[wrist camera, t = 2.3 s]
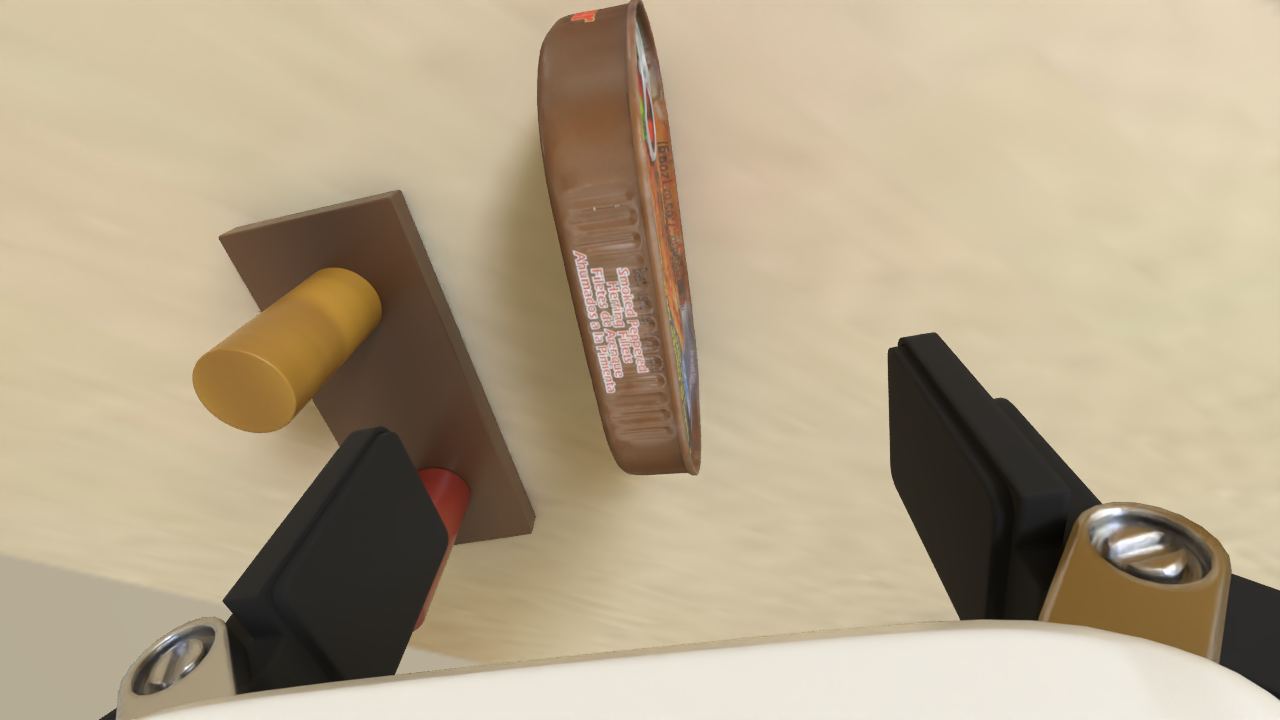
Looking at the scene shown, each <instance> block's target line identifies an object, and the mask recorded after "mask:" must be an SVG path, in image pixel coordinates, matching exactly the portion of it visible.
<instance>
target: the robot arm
mask: <svg viewBox="0 0 1280 720" xmlns="http://www.w3.org/2000/svg"><path fill="white" fill-rule="evenodd" d="M888 389H889V429H890V466H891V474H892V478H893V481H894V484H895V487H896V489H897V491H898V493H899V495H900V497H901V499H902V501H903V503H904V505H905V507H906V509H907V512H908V514H909V516H910V518H911V520H912V522H913V524H914V526H915V528H916V530H917V532H918V534H919V536H920V538H921V540H922V542H923V544H924V546H925V548H926V550H927V553H928V555H929V557H930V559H931V561H932V563H933V565H934V567H935V569H936V571H937V573H938V575H939V577H940V579H941V581H942V583H943V585H944V587H945V589H946V591H947V593H948V596H949V598H950V600H951V602H952V604H953V606H954V608H955V610H956V612H957V614H958V616H959V618H960V620H961V621H939V622H919V623H908V624H896V625H884V626H872V627H860V628H848V629H836V630H824V631H812V632H802V633H792V634H782V635H772V636H762V637H752V638H742V639H732V640H722V641H712V642H702V643H692V644H682V645H672V646H662V647H652V648H642V649H632V650H623V651H613V652H604V653H594V654H585V655H575V656H565V657H556V658H547V659H537V660H528V661H518V662H509V663H500V664H490V665H481V666H471V667H463V668H454V669H445V670H436V671H427V672H418V673H409V674H401V675H395V673H396V670H397V668H398V666H399V663H400V661H401V659H402V656H403V654H404V651H405V649H406V647H407V644H408V642H409V639H410V637H411V635H412V632H413V630H414V627H415V625H416V622H417V620H418V618H419V615H420V613H421V610H422V608H423V606H424V603H425V601H426V598H427V596H428V594H429V591H430V589H431V586H432V584H433V581H434V579H435V577H436V574H437V572H438V569H439V567H440V565H441V562H442V560H443V557H444V555H445V553H446V550H447V547H448V542H449V537H448V531H447V529H446V526H445V524H444V523H443V521H442V519H441V517H440V515H439V513H438V511H437V509H436V507H435V505H434V503H433V501H432V499H431V497H430V496H429V494H428V492H427V490H426V488H425V486H424V484H423V482H422V480H421V478H420V476H419V474H418V472H417V470H416V468H415V467H414V465H413V463H412V461H411V459H410V457H409V455H408V453H407V451H406V449H405V447H404V445H403V443H402V441H401V439H400V438H399V436H398V435H397V434H396V433H395V432H390V431H389V430H388V429H387V428H386V427H383V426H379V427H373V428H367V429H361V430H356V431H353V432H352V433H350V434H349V436H348V437H347V438H346V439H345V441H344V442H343V443H342V445H341V446H340V447H339V449H338V450H337V451H336V453H335V454H334V455H333V457H332V458H331V459H330V460H329V462H328V463H327V464H326V466H325V467H324V468H323V470H322V471H321V472H320V474H319V475H318V476H317V477H316V479H315V480H314V481H313V483H312V484H311V485H310V487H309V488H308V489H307V491H306V492H305V493H304V494H303V496H302V497H301V498H300V500H299V501H298V502H297V504H296V505H295V506H294V508H293V509H292V510H291V512H290V513H289V514H288V515H287V517H286V518H285V519H284V521H283V522H282V523H281V525H280V526H279V527H278V529H277V530H276V531H275V532H274V534H273V535H272V536H271V538H270V539H269V540H268V542H267V543H266V544H265V546H264V547H263V548H262V549H261V551H260V552H259V553H258V555H257V556H256V557H255V559H254V560H253V561H252V563H251V564H250V565H249V567H248V568H247V569H246V570H245V572H244V573H243V574H242V576H241V577H240V578H239V580H238V581H237V582H236V584H235V585H234V586H233V587H232V589H231V590H230V591H229V593H228V594H227V595H226V597H225V598H224V599H223V602H224V604H225V605H226V606H227V607H228V608H229V610H230V611H231V612H232V613H233V614H232V615H231V616H230V618H229V619H228V621H227V622H226V623H225V622H224V621H223V620H221V619H219V618H216V617H202V618H199V619H196V620H193V621H189V622H187V623H185V624H183V625H181V626H179V627H177V628H175V629H173V630H172V631H170V632H169V633H167V634H166V635H164V636H163V637H161V638H160V639H158V640H157V641H156V642H155V643H154V644H152V645H151V646H150V647H149V648H148V649H146V650H145V651H144V652H143V653H142V654H141V655H140V656H139V658H138V659H137V660H136V661H135V662H134V663H133V664H132V665H131V666H130V668H129V669H128V671H127V673H126V674H125V676H124V677H123V679H122V681H121V684H120V688H119V691H118V700H117V708H116V709H114V710H113V711H111V712H110V713H108V714H107V715H105V716H104V717H102V718H101V719H99V720H1280V591H1279V590H1277V589H1274V588H1271V587H1268V586H1265V585H1262V584H1260V583H1257V582H1254V581H1251V580H1248V579H1246V578H1243V577H1240V576H1237V575H1234V574H1231V572H1232V570H1231V564H1230V558H1229V555H1228V553H1227V552H1226V551H1225V549H1224V548H1223V546H1222V545H1221V543H1220V542H1219V541H1218V540H1217V539H1216V538H1215V537H1214V536H1212V535H1211V534H1210V533H1209V532H1208V531H1206V530H1205V529H1204V528H1203V527H1202V526H1200V525H1198V524H1196V523H1194V522H1192V521H1191V520H1189V519H1187V518H1185V517H1183V516H1181V515H1179V514H1176V513H1173V512H1171V511H1168V510H1165V509H1162V508H1159V507H1155V506H1150V505H1145V504H1140V503H1133V502H1111V503H1106V504H1102V503H1101V502H1100V501H1099V500H1098V499H1097V498H1096V496H1095V495H1094V494H1093V493H1092V492H1091V491H1090V490H1089V489H1088V487H1087V486H1086V485H1085V484H1084V483H1083V482H1082V481H1081V480H1080V479H1079V477H1078V476H1077V475H1076V474H1075V473H1074V472H1073V471H1072V470H1071V469H1070V467H1069V466H1068V465H1067V464H1066V463H1065V462H1064V461H1063V460H1062V459H1061V457H1060V456H1059V455H1058V454H1057V453H1056V452H1055V451H1054V450H1053V448H1052V447H1051V446H1050V445H1049V444H1048V443H1047V442H1046V441H1045V440H1044V438H1043V437H1042V436H1041V435H1040V434H1039V433H1038V432H1037V431H1036V430H1035V428H1034V427H1033V426H1032V425H1031V424H1030V423H1029V422H1028V421H1027V419H1026V418H1025V417H1024V416H1023V415H1022V414H1021V413H1020V412H1019V411H1018V409H1017V408H1016V407H1015V406H1014V405H1013V404H1012V403H1011V402H1009V401H1008V400H1007V399H1004V398H996V399H993V398H992V397H991V396H990V395H989V393H988V392H987V391H986V390H985V389H984V388H983V386H982V385H981V384H980V383H979V382H978V381H977V379H976V378H975V377H974V376H973V375H972V374H971V372H970V371H969V370H968V369H967V368H966V367H965V366H964V364H963V363H962V362H961V361H960V360H959V359H958V357H957V356H956V355H955V354H954V353H953V352H952V350H951V349H950V348H949V347H948V346H947V345H946V343H945V342H944V341H943V340H942V339H941V338H940V336H939V335H938V334H936V333H934V332H932V333H926V334H921V335H915V336H909V337H903V338H900V339H899V342H898V347H893V348H889V350H888Z"/></svg>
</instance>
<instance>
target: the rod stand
mask: <svg viewBox="0 0 1280 720" xmlns="http://www.w3.org/2000/svg"><path fill="white" fill-rule="evenodd" d="M219 240H220V242H221V243H222V245H223V247H224V248H225V250H226V252H227V254H228V255H229V257H230V259H231V260H232V262H233V264H234V266H235V267H236V269H237V271H238V272H239V274H240V276H241V278H242V279H243V281H244V283H245V284H246V286H247V288H248V290H249V291H250V293H251V295H252V296H253V298H254V300H255V302H256V303H257V305H258V307H259V308H260V310H261V313H260V314H259V315H257V316H256V317H254V318H253V319H252V320H250V321H249V322H248V323H246V324H245V325H244V326H242V327H241V328H240V329H238V330H237V331H236V332H234V333H233V334H232V335H230V336H229V337H227V338H226V339H225V340H223V341H222V342H221V343H219V344H218V345H217V346H215V347H214V348H213V349H211V350H210V351H209V352H207V353H206V354H204V355H203V356H202V357H201V358H200V359H199V360H198V361H197V363H196V365H195V367H194V370H193V386H194V389H195V392H196V394H197V396H198V398H199V399H200V401H201V402H202V403H203V405H204V406H205V407H206V408H207V409H208V410H209V411H210V412H211V413H212V414H213V415H214V416H215V417H217V418H218V419H220V420H221V421H223V422H224V423H226V424H228V425H230V426H232V427H235V428H237V429H240V430H243V431H248V432H254V433H267V432H273V431H276V430H279V429H281V428H283V427H285V426H286V425H287V424H288V423H290V421H291V420H292V419H293V418H294V417H295V416H296V415H297V414H298V413H299V412H300V410H301V409H302V408H303V407H304V406H305V405H306V404H307V403H308V402H309V401H310V400H311V398H312V399H313V401H314V403H315V405H316V406H317V408H318V410H319V411H320V413H321V415H322V417H323V418H324V420H325V422H326V423H327V425H328V427H329V429H330V430H331V432H332V434H333V435H334V437H335V439H336V441H337V442H338V444H339V446H341V445H342V443H343V442H344V441H345V439H346V438H347V437H348V436H349V434H350V433H352V432H353V431H356V430H361V429H367V428H373V427H379V426H383V427H386V428H387V429H388V430H389V431H390V432H395V433H396V434H397V435H398V436H399V438H400V439H401V441H402V443H403V445H404V447H405V449H406V451H407V453H408V455H409V457H410V459H411V461H412V463H413V465H414V467H415V468H416V470H417V472H418V474H419V476H420V478H421V480H422V482H423V484H424V486H425V488H426V490H427V492H428V494H429V496H430V497H431V499H432V501H433V503H434V505H435V507H436V509H437V511H438V513H439V515H440V517H441V519H442V521H443V523H444V524H445V526H446V529H447V531H448V537H449V542H448V547H447V550H446V553H445V555H444V557H443V560H442V562H441V565H440V567H439V569H438V572H437V574H436V577H435V579H434V581H433V584H432V586H431V589H430V591H429V594H428V596H427V598H426V601H425V603H424V606H423V608H422V610H421V613H420V615H419V618H418V620H417V622H416V625H415V627H414V630H413V631H415V630H416V629H418V628H419V627H420V626H421V625H422V624H423V622H424V620H425V617H426V615H427V612H428V609H429V607H430V604H431V602H432V599H433V596H434V594H435V591H436V589H437V586H438V584H439V581H440V578H441V576H442V573H443V571H444V568H445V565H446V563H447V560H448V558H449V555H450V553H451V550H452V547H453V545H457V544H464V543H470V542H477V541H484V540H491V539H498V538H504V537H511V536H518V535H525V534H531V533H532V530H533V526H534V522H535V518H536V516H535V514H534V511H533V509H532V507H531V504H530V502H529V499H528V497H527V494H526V492H525V490H524V487H523V485H522V482H521V480H520V478H519V475H518V473H517V470H516V468H515V465H514V463H513V461H512V458H511V456H510V453H509V451H508V449H507V446H506V444H505V441H504V439H503V436H502V434H501V432H500V429H499V427H498V424H497V422H496V420H495V417H494V415H493V412H492V410H491V407H490V405H489V403H488V400H487V398H486V395H485V393H484V391H483V388H482V386H481V383H480V381H479V378H478V376H477V374H476V371H475V369H474V366H473V364H472V362H471V359H470V357H469V354H468V352H467V349H466V347H465V345H464V342H463V340H462V337H461V335H460V333H459V330H458V328H457V325H456V323H455V320H454V318H453V316H452V313H451V311H450V308H449V306H448V303H447V301H446V299H445V296H444V294H443V291H442V289H441V287H440V284H439V282H438V279H437V277H436V274H435V272H434V270H433V267H432V265H431V262H430V260H429V258H428V255H427V253H426V250H425V248H424V245H423V243H422V241H421V238H420V236H419V233H418V231H417V229H416V226H415V224H414V221H413V219H412V216H411V214H410V212H409V209H408V207H407V204H406V202H405V200H404V197H403V195H402V192H401V191H400V190H396V191H391V192H387V193H383V194H379V195H374V196H370V197H366V198H361V199H357V200H353V201H348V202H344V203H340V204H335V205H331V206H327V207H322V208H318V209H314V210H310V211H305V212H301V213H297V214H292V215H288V216H284V217H279V218H275V219H271V220H266V221H262V222H258V223H253V224H249V225H245V226H241V227H236V228H234V229H232V230H230V231H228V232H226V233H224V234H222V235H220V236H219Z"/></svg>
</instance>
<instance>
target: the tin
mask: <svg viewBox="0 0 1280 720" xmlns="http://www.w3.org/2000/svg"><path fill="white" fill-rule="evenodd" d="M537 105H538V122H539V133H540V142H541V149H542V156H543V163H544V170H545V176H546V183H547V188H548V193H549V198H550V203H551V208H552V212H553V217H554V221H555V225H556V230H557V234H558V239H559V243H560V248H561V252H562V257H563V261H564V266H565V270H566V275H567V279H568V283H569V287H570V291H571V296H572V300H573V305H574V309H575V314H576V318H577V322H578V326H579V330H580V334H581V338H582V342H583V347H584V351H585V356H586V360H587V364H588V368H589V372H590V376H591V380H592V384H593V389H594V392H595V396H596V400H597V404H598V409H599V412H600V416H601V420H602V424H603V429H604V432H605V435H606V439H607V442H608V445H609V448H610V450H611V452H612V455H613V457H614V459H615V461H616V463H617V464H618V466H619V467H620V468H621V469H622V470H623V471H624V472H626V473H629V474H633V475H657V474H673V473H689V474H691V475H698V473H699V470H700V463H701V460H700V459H701V424H700V404H699V375H698V359H697V350H696V339H695V331H694V325H693V314H692V304H691V297H690V289H689V281H688V273H687V265H686V258H685V250H684V242H683V233H682V226H681V218H680V209H679V202H678V193H677V185H676V177H675V169H674V161H673V154H672V146H671V138H670V131H669V123H668V115H667V110H666V103H665V99H664V91H663V84H662V78H661V73H660V67H659V61H658V57H657V51H656V47H655V43H654V38H653V34H652V30H651V27H650V22H649V20H648V16H647V13H646V11H645V8H644V5H643V3H642V1H641V0H631V1H630V2H629V3H628V4H624V5H619V6H614V7H609V8H605V9H599V10H593V11H587V12H581V13H576V14H572V15H568V16H566V17H563V18H561V19H559V20H558V21H557V22H556V23H555V24H554V26H553V27H552V28H551V30H550V31H549V32H548V34H547V35H546V37H545V39H544V41H543V43H542V47H541V50H540V56H539V64H538V79H537Z"/></svg>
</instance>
